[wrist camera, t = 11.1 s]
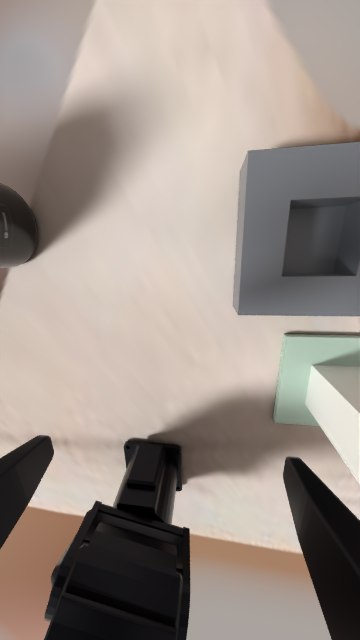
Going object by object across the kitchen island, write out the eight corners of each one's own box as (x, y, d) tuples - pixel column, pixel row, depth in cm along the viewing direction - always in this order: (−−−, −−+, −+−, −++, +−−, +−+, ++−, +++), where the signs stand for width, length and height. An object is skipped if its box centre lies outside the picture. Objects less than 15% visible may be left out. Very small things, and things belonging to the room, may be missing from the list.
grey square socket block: (359, 306, 17) (391, 316, 14) (232, 305, 18) (238, 315, 15) (393, 160, 14) (443, 135, 11) (240, 171, 15) (248, 150, 12)
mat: (372, 424, 20) (377, 430, 19) (272, 418, 21) (274, 422, 20) (399, 336, 17) (405, 339, 16) (283, 334, 18) (286, 336, 17)
